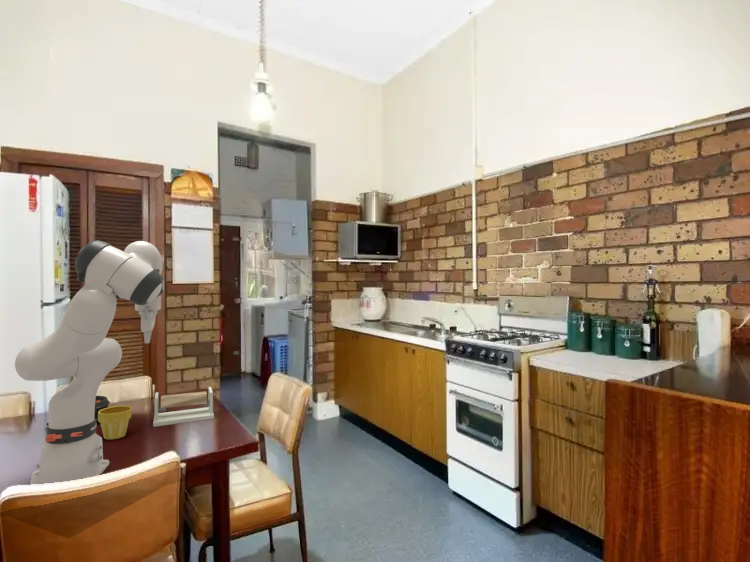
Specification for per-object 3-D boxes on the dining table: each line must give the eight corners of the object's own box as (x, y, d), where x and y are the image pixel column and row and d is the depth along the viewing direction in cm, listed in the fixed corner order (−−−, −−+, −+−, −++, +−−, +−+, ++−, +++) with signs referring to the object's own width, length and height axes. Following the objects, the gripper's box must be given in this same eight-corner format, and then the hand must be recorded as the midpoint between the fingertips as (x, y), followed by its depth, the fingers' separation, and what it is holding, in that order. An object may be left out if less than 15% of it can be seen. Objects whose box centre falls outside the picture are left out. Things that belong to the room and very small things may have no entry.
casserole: (66, 435, 149) (66, 412, 149) (34, 428, 156) (35, 406, 156) (130, 414, 172) (130, 394, 172) (100, 409, 179) (100, 390, 179)
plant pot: (121, 429, 155) (122, 403, 155) (137, 434, 150) (137, 407, 150) (91, 438, 146) (92, 410, 146) (107, 444, 141) (107, 415, 141)
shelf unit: (213, 418, 168) (214, 393, 168) (153, 426, 158) (153, 399, 158) (211, 410, 178) (211, 386, 178) (154, 417, 169) (154, 392, 169)
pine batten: (206, 403, 170) (206, 393, 170) (160, 408, 163) (160, 398, 163) (206, 400, 173) (206, 391, 173) (161, 405, 166) (161, 395, 166)
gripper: (156, 307, 150) (156, 344, 150) (158, 304, 168) (158, 337, 168) (136, 307, 147) (136, 345, 147) (140, 304, 166) (140, 338, 166)
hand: (147, 341), depth 158 cm, fingers open, 8 cm apart
